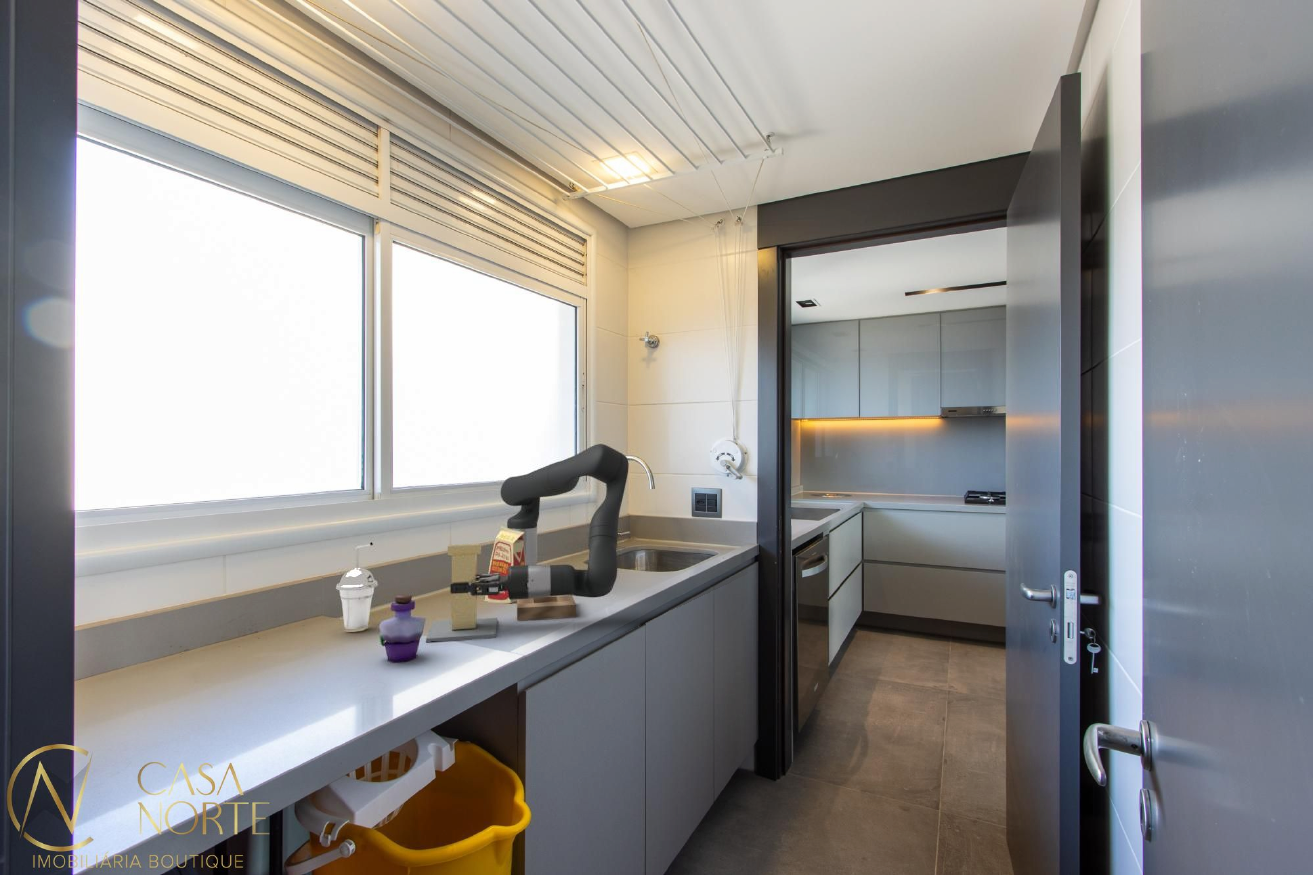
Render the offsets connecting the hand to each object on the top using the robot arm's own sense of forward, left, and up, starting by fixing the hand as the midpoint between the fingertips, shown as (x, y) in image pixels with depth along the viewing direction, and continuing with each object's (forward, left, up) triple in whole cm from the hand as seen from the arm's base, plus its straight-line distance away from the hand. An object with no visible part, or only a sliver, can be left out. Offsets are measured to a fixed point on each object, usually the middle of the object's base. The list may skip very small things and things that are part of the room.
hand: (452, 585), depth 133 cm
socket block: (-5, +24, -10) cm, 27 cm away
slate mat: (+1, +2, -10) cm, 11 cm away
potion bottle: (+13, -13, -10) cm, 21 cm away
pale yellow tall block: (+1, +3, -9) cm, 9 cm away
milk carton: (-24, +21, -10) cm, 34 cm away
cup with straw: (-13, -18, -10) cm, 24 cm away
